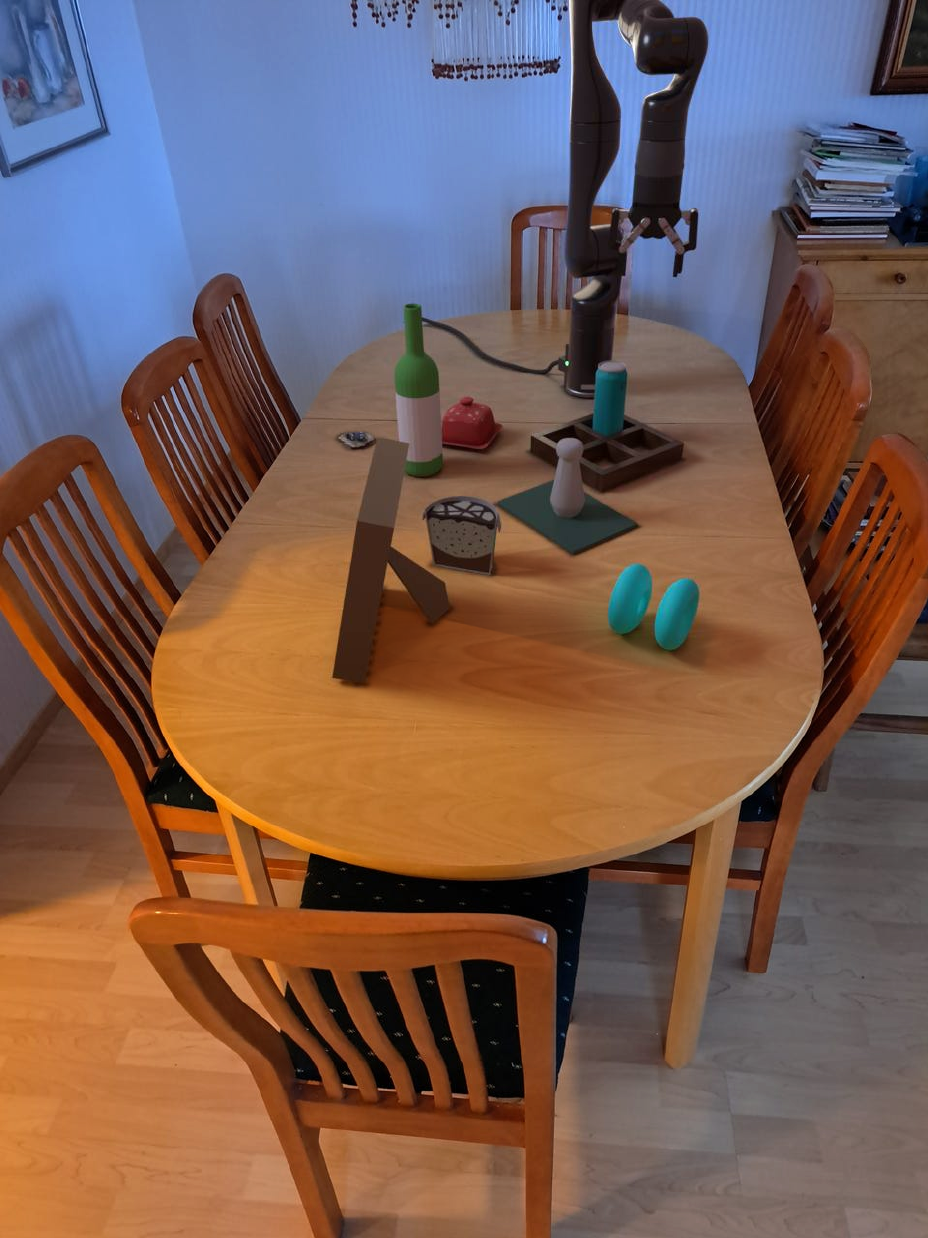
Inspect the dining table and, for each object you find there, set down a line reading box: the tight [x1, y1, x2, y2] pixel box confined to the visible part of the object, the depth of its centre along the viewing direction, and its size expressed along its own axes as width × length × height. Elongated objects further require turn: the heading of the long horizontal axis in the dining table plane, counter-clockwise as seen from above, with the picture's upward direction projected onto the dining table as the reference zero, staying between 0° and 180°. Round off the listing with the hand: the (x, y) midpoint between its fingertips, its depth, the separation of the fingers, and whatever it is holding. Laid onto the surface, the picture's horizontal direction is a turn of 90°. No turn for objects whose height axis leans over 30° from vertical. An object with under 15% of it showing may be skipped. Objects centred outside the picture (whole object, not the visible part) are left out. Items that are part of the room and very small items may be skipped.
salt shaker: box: [550, 438, 585, 518], centre depth 148 cm, size 6×6×13 cm
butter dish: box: [441, 396, 503, 450], centre depth 173 cm, size 12×12×8 cm
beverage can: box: [592, 360, 628, 436], centre depth 169 cm, size 6×6×15 cm
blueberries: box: [338, 430, 376, 448], centre depth 176 cm, size 7×8×2 cm
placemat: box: [496, 479, 639, 555], centre depth 152 cm, size 20×14×1 cm
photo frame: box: [331, 436, 451, 684], centre depth 120 cm, size 15×22×25 cm
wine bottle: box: [393, 302, 444, 478], centre depth 157 cm, size 8×8×30 cm
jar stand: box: [530, 412, 685, 493], centre depth 168 cm, size 20×20×4 cm
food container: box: [421, 495, 502, 576], centre depth 139 cm, size 12×6×10 cm, turn 71°
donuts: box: [607, 563, 700, 651], centre depth 122 cm, size 10×10×10 cm
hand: (648, 275), depth 151 cm, fingers open, 8 cm apart
